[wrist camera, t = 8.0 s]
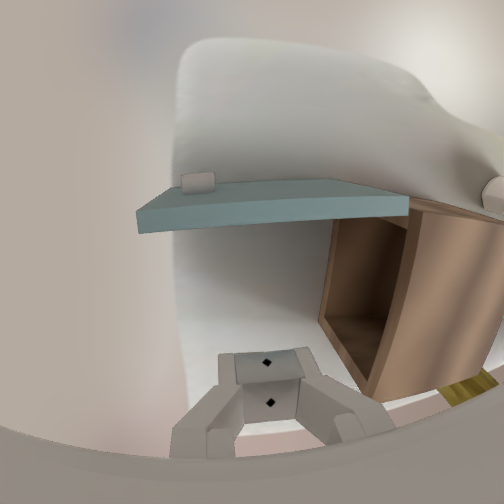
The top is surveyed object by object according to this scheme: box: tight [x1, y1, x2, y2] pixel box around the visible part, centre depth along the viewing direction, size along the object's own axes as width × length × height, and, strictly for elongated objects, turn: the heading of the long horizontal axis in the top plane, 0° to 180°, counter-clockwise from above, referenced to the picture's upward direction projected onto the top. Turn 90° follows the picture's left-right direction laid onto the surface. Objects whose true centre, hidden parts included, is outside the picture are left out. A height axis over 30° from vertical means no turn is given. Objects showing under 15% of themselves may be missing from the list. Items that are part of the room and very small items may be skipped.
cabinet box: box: [318, 197, 504, 403], centre depth 22 cm, size 12×13×12 cm
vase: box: [437, 368, 499, 407], centre depth 26 cm, size 6×6×14 cm
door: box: [136, 173, 409, 234], centre depth 18 cm, size 2×13×11 cm, turn 93°
